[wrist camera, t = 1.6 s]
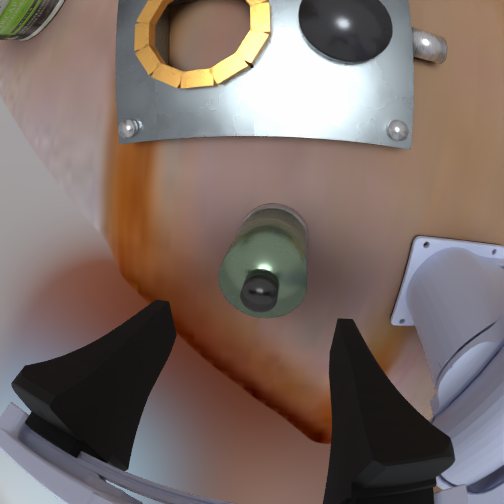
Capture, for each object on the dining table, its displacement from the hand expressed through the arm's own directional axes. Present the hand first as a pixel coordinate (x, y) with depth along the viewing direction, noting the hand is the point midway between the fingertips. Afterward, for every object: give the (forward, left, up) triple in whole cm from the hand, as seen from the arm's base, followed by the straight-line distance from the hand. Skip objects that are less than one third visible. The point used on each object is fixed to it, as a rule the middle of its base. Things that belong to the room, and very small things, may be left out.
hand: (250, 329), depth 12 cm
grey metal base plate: (0, -14, -9) cm, 17 cm away
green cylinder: (0, 0, -10) cm, 10 cm away
